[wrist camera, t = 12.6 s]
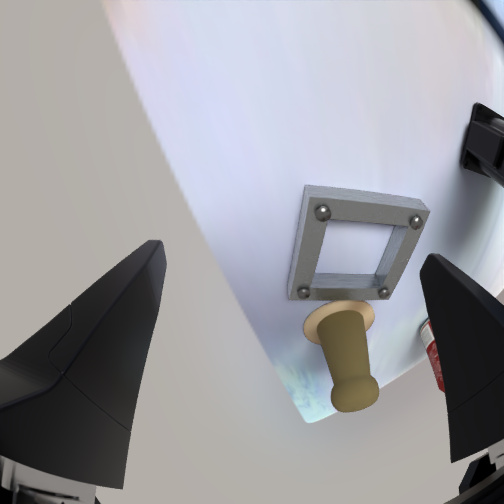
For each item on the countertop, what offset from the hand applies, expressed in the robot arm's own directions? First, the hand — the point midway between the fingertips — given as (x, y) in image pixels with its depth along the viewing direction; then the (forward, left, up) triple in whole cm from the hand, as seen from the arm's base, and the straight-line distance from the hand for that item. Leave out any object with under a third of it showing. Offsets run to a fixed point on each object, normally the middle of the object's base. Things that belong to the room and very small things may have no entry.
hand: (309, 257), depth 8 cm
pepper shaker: (-10, +21, -13) cm, 26 cm away
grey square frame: (-8, +9, -13) cm, 18 cm away
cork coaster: (-10, +21, -13) cm, 27 cm away
